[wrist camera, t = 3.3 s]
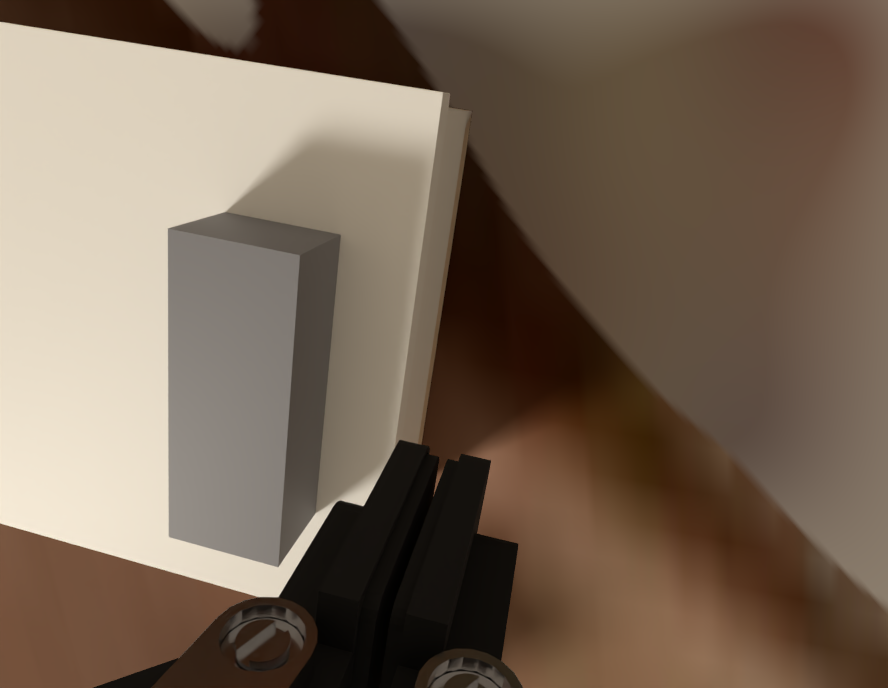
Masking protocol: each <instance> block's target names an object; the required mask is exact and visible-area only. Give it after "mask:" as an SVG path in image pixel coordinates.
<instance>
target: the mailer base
mask: <svg viewBox="0 0 888 688" xmlns="http://www.w3.org/2000/svg"><path fill="white" fill-rule="evenodd" d="M471 117H472V111H471V110H465V109H459V108H453V107H449V108H448V115H447V122H446V129H445V136H444V143H443V150H442V158H441V165H440V172H439V179H438V186H437V193H436V200H435V208H434V215H433V222H432V229H431V236H430V243H429V250H428V258H427V265H426V272H425V279H424V286H423V293H422V300H421V308H420V315H419V322H418V329H417V336H416V343H415V350H414V358H413V365H412V372H411V379H410V386H409V393H408V400H407V408H406V415H405V422H404V429H403V436H402V440H403V441H408V442H412V443H416V444H421V445H422V438H423V432H424V425H425V419H426V412H427V406H428V399H429V392H430V386H431V379H432V373H433V366H434V360H435V353H436V346H437V340H438V333H439V327H440V320H441V314H442V307H443V301H444V294H445V287H446V281H447V274H448V268H449V261H450V255H451V248H452V242H453V235H454V228H455V222H456V215H457V209H458V202H459V196H460V189H461V183H462V176H463V169H464V163H465V156H466V150H467V143H468V137H469V130H470V123H471Z"/></svg>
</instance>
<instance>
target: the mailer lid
mask: <svg viewBox="0 0 888 688" xmlns="http://www.w3.org/2000/svg"><path fill="white" fill-rule="evenodd" d="M449 100H450V93H446V92H440V91H433V90H427V89H421V88H415V87H408V86H402V85H396V84H389V83H383V82H377V81H371V80H364V79H358V78H352V77H345V76H339V75H333V74H327V73H320V72H314V71H308V70H301V69H295V68H289V67H283V66H276V65H270V64H264V63H257V62H251V61H245V60H239V59H232V58H226V57H220V56H213V55H207V54H201V53H195V52H188V51H182V50H176V49H169V48H163V47H157V46H151V45H144V44H138V43H132V42H125V41H119V40H113V39H107V38H100V37H94V36H88V35H81V34H75V33H69V32H63V31H56V30H50V29H44V28H37V27H31V26H25V25H19V24H12V23H6V22H0V523H1V524H4V525H8V526H11V527H15V528H18V529H22V530H25V531H29V532H32V533H36V534H39V535H43V536H47V537H50V538H54V539H57V540H61V541H64V542H68V543H71V544H75V545H78V546H82V547H85V548H89V549H92V550H96V551H99V552H103V553H106V554H110V555H113V556H117V557H120V558H124V559H127V560H131V561H134V562H138V563H141V564H145V565H148V566H152V567H155V568H159V569H163V570H166V571H170V572H173V573H177V574H180V575H184V576H187V577H191V578H194V579H198V580H201V581H205V582H208V583H212V584H215V585H219V586H222V587H226V588H229V589H233V590H236V591H240V592H243V593H247V594H250V595H254V596H257V597H279V595H280V594H281V592H282V590H283V589H284V587H285V585H286V584H287V582H288V580H289V579H290V577H291V575H292V574H293V572H294V570H295V569H296V567H297V566H298V564H299V562H300V561H301V559H302V557H303V556H304V554H305V552H306V551H307V549H308V547H309V546H310V544H311V542H312V541H313V539H314V537H315V536H316V534H317V532H318V531H319V529H320V528H321V526H322V524H323V523H324V521H325V519H326V518H327V516H328V514H329V513H330V511H331V509H332V508H333V506H334V505H335V504H336V502H337V501H345V502H349V503H353V504H357V505H361V506H364V505H365V503H366V501H367V499H368V497H369V495H370V493H371V492H372V490H373V488H374V486H375V484H376V482H377V480H378V478H379V477H380V475H381V473H382V471H383V469H384V467H385V465H386V463H387V462H388V460H389V458H390V456H391V454H392V452H393V450H394V448H395V447H396V445H397V443H398V441H399V440H402V436H403V429H404V422H405V415H406V408H407V400H408V393H409V386H410V379H411V372H412V365H413V358H414V350H415V343H416V336H417V329H418V322H419V315H420V308H421V300H422V293H423V286H424V279H425V272H426V265H427V258H428V250H429V243H430V236H431V229H432V222H433V215H434V208H435V200H436V193H437V186H438V179H439V172H440V165H441V158H442V150H443V143H444V136H445V129H446V122H447V115H448V108H449Z"/></svg>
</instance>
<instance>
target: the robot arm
mask: <svg viewBox="0 0 888 688" xmlns="http://www.w3.org/2000/svg"><path fill="white" fill-rule="evenodd" d="M429 449H430V448H429V446H425V445H421V444H416V443H412V442H408V441H403V440H399V441H398V443H397V445H396V447H395V448H394V450H393V452H392V454H391V456H390V458H389V460H388V462H387V463H386V465H385V467H384V469H383V471H382V473H381V475H380V477H379V478H378V480H377V482H376V484H375V486H374V488H373V490H372V492H371V493H370V495H369V497H368V499H367V501H366V503H365V505H364V506H361V505H357V504H353V503H349V502H345V501H337V502H336V504H335V505H334V506H333V508H332V509H331V511H330V513H329V514H328V516H327V518H326V519H325V521H324V523H323V524H322V526H321V528H320V529H319V531H318V532H317V534H316V536H315V537H314V539H313V541H312V542H311V544H310V546H309V547H308V549H307V551H306V552H305V554H304V556H303V557H302V559H301V561H300V562H299V564H298V566H297V567H296V569H295V570H294V572H293V574H292V575H291V577H290V579H289V580H288V582H287V584H286V585H285V587H284V589H283V590H282V592H281V594H280V595H279V597H258V598H254V599H249V600H244V601H242V602H240V603H238V604H236V605H234V606H231V607H230V608H228V609H227V610H226V611H225V612H223V613H222V614H221V615H220V616H218V617H217V618H216V619H215V620H214V621H213V623H212V624H211V625H210V626H209V627H208V628H207V629H206V630H205V631H204V632H203V633H202V634H201V635H200V636H199V637H198V638H197V640H196V641H195V642H194V643H193V644H192V645H191V646H190V647H189V648H188V649H187V650H186V651H185V652H184V653H183V654H182V655H181V657H180V658H177V659H174V660H171V661H169V662H166V663H163V664H160V665H157V666H154V667H151V668H149V669H146V670H143V671H140V672H137V673H134V674H131V675H128V676H126V677H123V678H120V679H117V680H114V681H111V682H108V683H105V684H103V685H100V686H97V687H94V688H523V687H522V685H521V683H520V682H519V680H518V678H517V677H516V675H515V673H514V672H513V671H512V670H511V669H510V668H508V667H507V666H506V665H505V664H504V663H503V662H502V661H501V658H502V651H503V645H504V638H505V631H506V624H507V618H508V611H509V604H510V598H511V591H512V584H513V578H514V571H515V564H516V558H517V551H518V544H517V543H513V542H509V541H505V540H500V539H496V538H492V537H488V536H484V535H480V534H477V530H478V525H479V520H480V515H481V510H482V505H483V500H484V495H485V489H486V484H487V479H488V474H489V469H490V463H491V460H486V459H482V458H478V457H473V456H469V455H464V454H461V456H460V458H459V461H454V460H450V459H448V460H447V462H446V465H445V467H444V470H443V473H442V475H441V478H440V481H439V483H438V486H437V489H436V491H435V494H434V489H435V482H436V476H437V470H438V464H439V457H437V456H433V455H429ZM433 495H434V497H433Z"/></svg>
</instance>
